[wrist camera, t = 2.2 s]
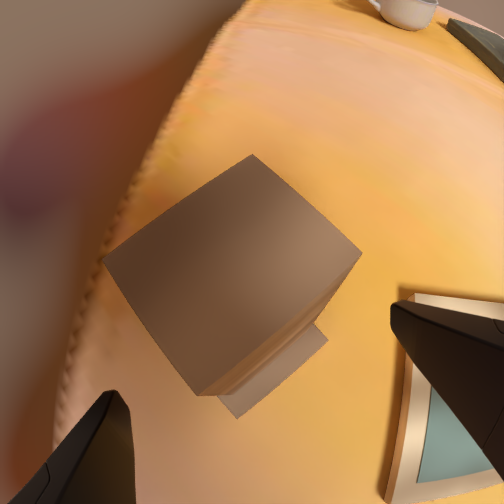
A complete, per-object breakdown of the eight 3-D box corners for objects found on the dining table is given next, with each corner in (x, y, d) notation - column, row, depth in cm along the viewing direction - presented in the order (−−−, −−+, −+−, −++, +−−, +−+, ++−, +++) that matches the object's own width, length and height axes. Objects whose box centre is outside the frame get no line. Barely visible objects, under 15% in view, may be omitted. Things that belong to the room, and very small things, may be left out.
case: (444, 30, 43) (507, 90, 34) (449, 15, 39) (516, 73, 30) (493, 45, 44) (548, 101, 35) (498, 32, 40) (556, 88, 32)
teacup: (416, 20, 42) (425, -12, 35) (437, 43, 38) (449, 7, 30) (350, 4, 43) (355, -30, 36) (362, 25, 38) (370, -16, 31)
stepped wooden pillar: (325, 342, 19) (410, 267, 8) (238, 417, 17) (207, 455, 6) (251, 264, 21) (245, 124, 10) (166, 330, 19) (67, 245, 8)
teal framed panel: (510, 475, 13) (520, 476, 12) (383, 501, 14) (391, 506, 13) (521, 310, 19) (530, 305, 18) (407, 298, 20) (415, 292, 19)
